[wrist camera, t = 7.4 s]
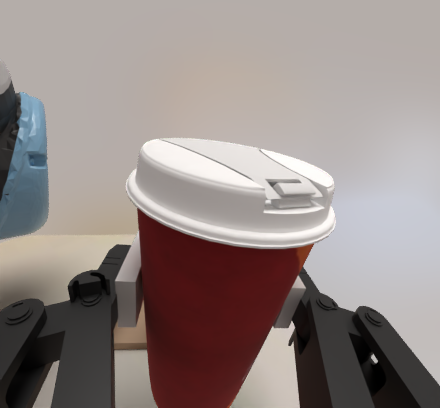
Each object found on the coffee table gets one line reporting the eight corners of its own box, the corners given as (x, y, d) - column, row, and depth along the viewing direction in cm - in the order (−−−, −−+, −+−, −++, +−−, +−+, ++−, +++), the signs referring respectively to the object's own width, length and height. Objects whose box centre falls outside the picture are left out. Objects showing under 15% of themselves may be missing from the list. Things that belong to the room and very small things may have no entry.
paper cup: (279, 413, 12) (405, 193, 6) (139, 506, 9) (140, 206, 3) (221, 304, 18) (259, 142, 13) (126, 332, 15) (119, 127, 9)
